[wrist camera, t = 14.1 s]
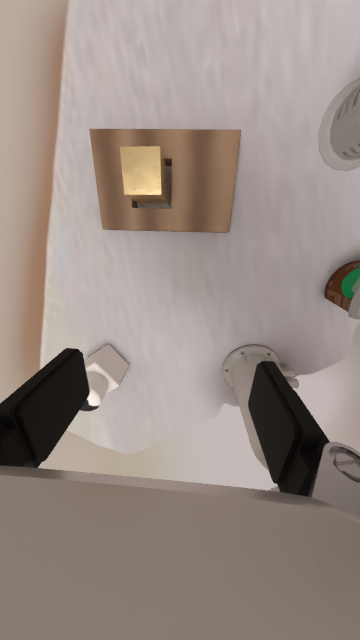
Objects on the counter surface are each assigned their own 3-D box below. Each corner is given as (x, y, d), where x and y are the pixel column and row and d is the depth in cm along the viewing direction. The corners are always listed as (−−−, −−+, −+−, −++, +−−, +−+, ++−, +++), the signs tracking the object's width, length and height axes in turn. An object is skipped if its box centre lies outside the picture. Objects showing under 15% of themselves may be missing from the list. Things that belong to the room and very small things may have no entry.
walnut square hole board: (236, 140, 27) (241, 129, 24) (225, 232, 32) (229, 232, 29) (99, 139, 28) (89, 128, 25) (109, 229, 33) (102, 229, 30)
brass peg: (168, 171, 29) (159, 146, 21) (169, 205, 31) (161, 194, 22) (139, 172, 29) (119, 146, 21) (141, 205, 31) (124, 194, 23)
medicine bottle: (108, 377, 46) (82, 421, 35) (87, 357, 44) (53, 397, 33) (129, 364, 44) (110, 406, 33) (109, 342, 42) (80, 380, 31)
